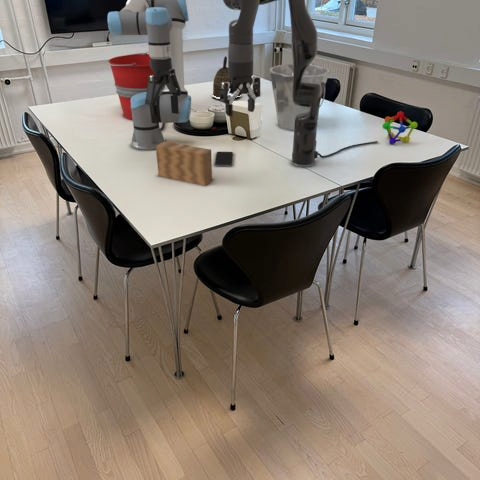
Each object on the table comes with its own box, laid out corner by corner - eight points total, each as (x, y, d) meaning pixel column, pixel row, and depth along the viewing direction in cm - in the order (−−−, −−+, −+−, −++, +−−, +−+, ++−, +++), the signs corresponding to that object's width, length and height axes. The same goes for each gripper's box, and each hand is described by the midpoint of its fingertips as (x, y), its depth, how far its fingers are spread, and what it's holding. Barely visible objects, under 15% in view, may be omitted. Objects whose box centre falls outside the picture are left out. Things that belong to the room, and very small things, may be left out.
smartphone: (214, 164, 185) (216, 151, 198) (214, 166, 185) (216, 152, 198) (232, 164, 185) (233, 151, 198) (232, 166, 185) (233, 153, 198)
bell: (227, 105, 294) (202, 96, 282) (238, 66, 289) (213, 55, 277) (243, 108, 280) (217, 98, 268) (255, 66, 275) (229, 55, 263)
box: (158, 176, 177) (155, 146, 170) (166, 170, 181) (164, 141, 175) (205, 185, 169) (203, 154, 163) (212, 179, 174) (211, 149, 167)
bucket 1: (122, 105, 264) (115, 51, 248) (181, 105, 263) (177, 51, 248) (106, 122, 235) (96, 62, 219) (171, 123, 234) (167, 63, 218)
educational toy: (377, 146, 209) (379, 114, 202) (384, 138, 219) (386, 107, 211) (411, 149, 202) (415, 116, 195) (417, 141, 212) (420, 109, 204)
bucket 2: (296, 138, 215) (301, 78, 201) (255, 124, 234) (256, 68, 219) (335, 125, 232) (342, 70, 217) (294, 113, 251) (297, 61, 236)
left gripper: (148, 64, 143) (155, 128, 155) (187, 52, 163) (191, 110, 174) (129, 62, 146) (137, 125, 157) (170, 51, 165) (174, 108, 176)
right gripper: (229, 63, 125) (229, 120, 134) (267, 58, 133) (265, 112, 141) (213, 59, 130) (215, 114, 139) (251, 54, 138) (250, 107, 146)
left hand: (165, 118), depth 165 cm, fingers open, 13 cm apart
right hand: (240, 113), depth 140 cm, fingers open, 8 cm apart
